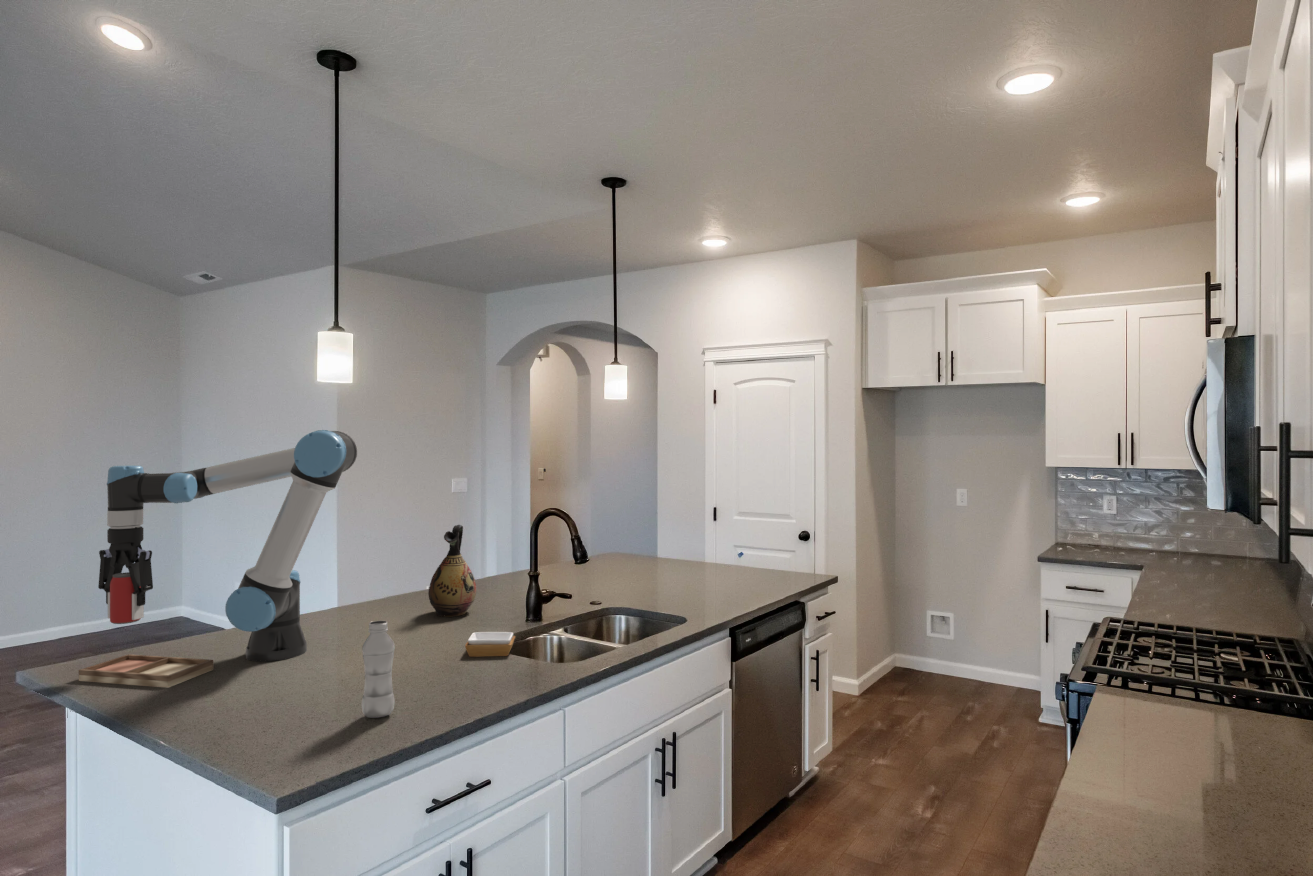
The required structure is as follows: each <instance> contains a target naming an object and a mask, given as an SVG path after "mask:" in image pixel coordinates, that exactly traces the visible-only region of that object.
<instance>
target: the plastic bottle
mask: <svg viewBox="0 0 1313 876" xmlns="http://www.w3.org/2000/svg"><path fill="white" fill-rule="evenodd" d="M368 623H369V624H368V633H369V635H368V637H367V638H366V639H365V641H364V643H363V645H362V649H361V650H362V657H363V658H362V659H363V665H364V686H363V687H364V688H363V695H362V699H361V711H362V714H363V715H364V716H365V717H366V718H369V719H370V718H372V719H376V718H384V717H387V716H389V715H391V714H392V713H393V711H394V708H395V704H396V703H395V702H396V701H395V694H394V692H393V691H394V689H393V679H392V678H393V676H392V675H393V672H392V671H393V662H394V656H395V651H396V650H395V648H396V645H395V642H394V640H393V639H392V638H391V636H390V634H388V631H389V628H388V621H387V620H374V621H370V622H368Z"/></svg>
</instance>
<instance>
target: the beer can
mask: <svg viewBox="0 0 1313 876" xmlns="http://www.w3.org/2000/svg"><path fill="white" fill-rule="evenodd" d="M112 576H113V578H112V580H111V583H110V618H109V622H110V623H112V624H113V625H126V624H133V623H136V622H138V621H140V620H141V619H142V618H140V619H136V620H132V594H133V593H132V592H135V591H134V587H133V584H132V580H131V577H130V573H129V571H128V572H121V573H118V574H114V575H112Z"/></svg>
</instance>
